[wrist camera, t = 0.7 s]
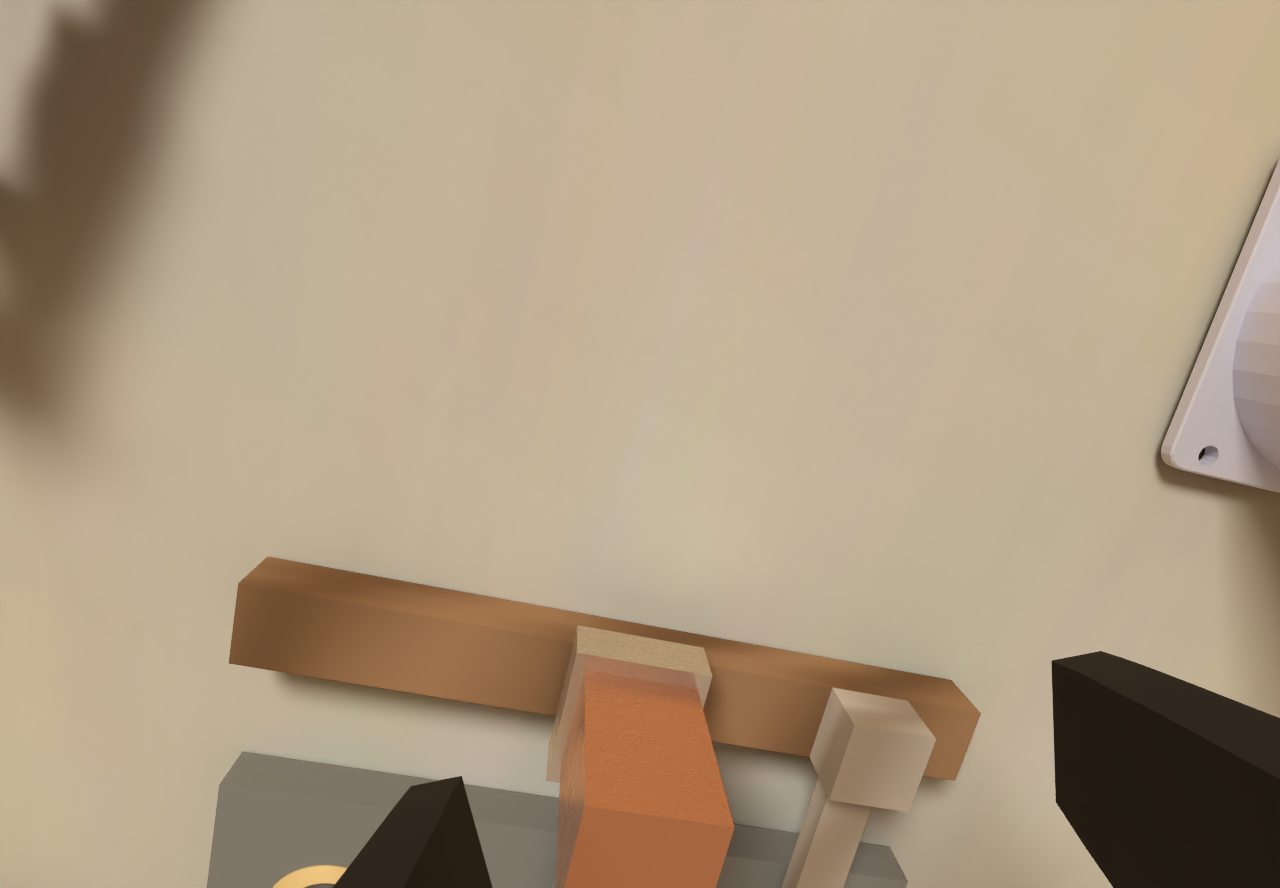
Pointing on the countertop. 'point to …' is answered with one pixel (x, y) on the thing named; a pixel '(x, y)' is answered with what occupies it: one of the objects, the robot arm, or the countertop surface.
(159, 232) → the countertop surface
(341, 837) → the bolt plate
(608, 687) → the orange handled lever
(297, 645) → the rail
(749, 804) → the countertop surface
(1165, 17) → the countertop surface
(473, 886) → the robot arm
